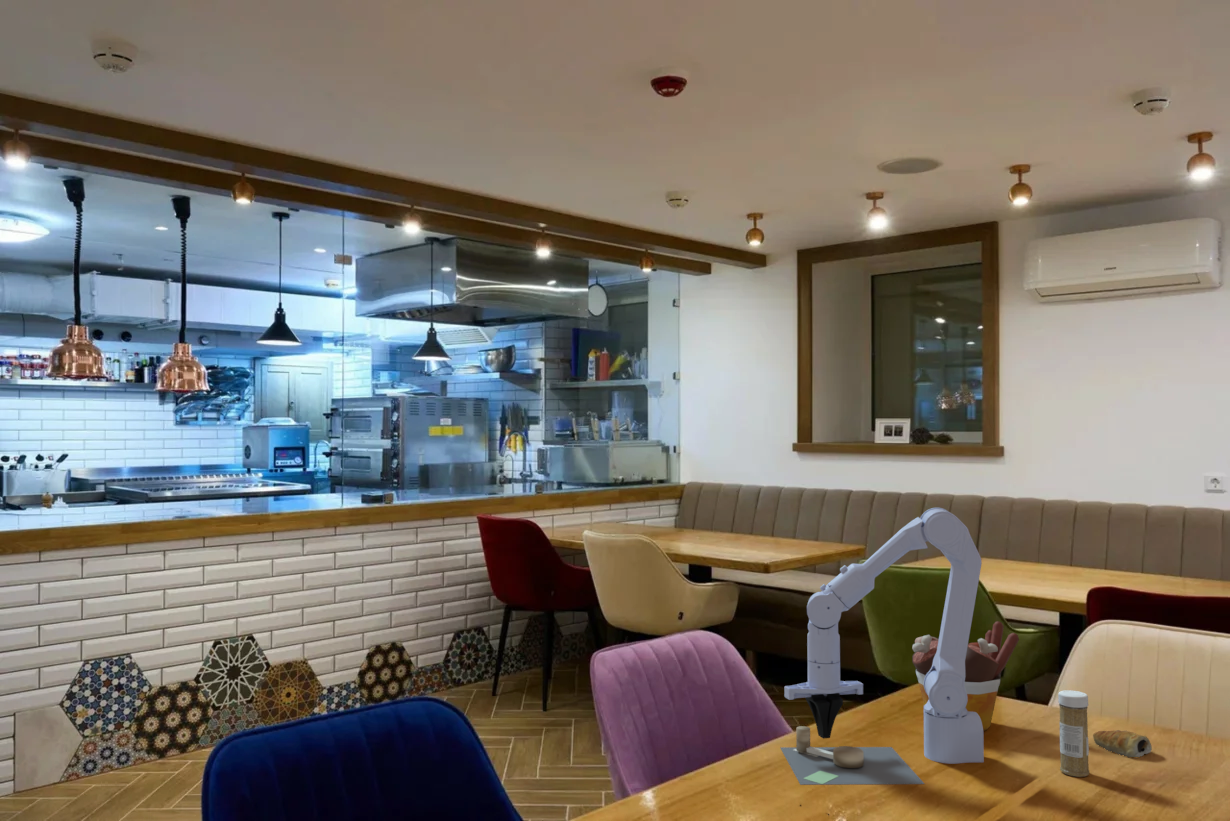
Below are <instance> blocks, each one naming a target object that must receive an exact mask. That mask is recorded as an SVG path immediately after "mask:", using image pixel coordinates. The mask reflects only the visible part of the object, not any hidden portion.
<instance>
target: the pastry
mask: <svg viewBox="0 0 1230 821" xmlns="http://www.w3.org/2000/svg"><path fill="white" fill-rule="evenodd" d="M1092 737H1093V740H1094V743H1095V745H1097V746H1098V745H1099V746H1098V747H1100V746H1101V747H1100V748H1102V747H1103V748H1102V749H1104V748H1105V749H1106V750H1105V751H1107V750H1108V751H1107V752H1111V751H1112V752H1111V753H1113V752H1115V753H1114V754H1116V753H1117V755H1119V754H1120V756H1122V755H1124V756H1123V757H1125V756H1127V757H1126V758H1130V757H1139V758H1141V757H1143V756H1145V755H1144V754H1146V755H1147V754H1150V753H1152V749H1153V748H1152V743H1151V741H1150V739H1149V738H1148V736H1147V735H1143V734H1142V735H1141V734H1137V733H1135V732H1133V731H1129V730H1119V729H1118V730H1106V731H1105V730H1100V731H1096V732H1094V733H1093V734H1092ZM1140 756H1141V757H1140Z"/></svg>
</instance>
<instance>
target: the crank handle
mask: <svg viewBox="0 0 1230 821" xmlns="http://www.w3.org/2000/svg"><path fill="white" fill-rule="evenodd" d="M795 732H796V736H795V737H796V741H795V742H796V747H797V751H799V752H809V753H812V754H816V755H820V756H823V757H827V758H831V759H833V762H834V764H836V765H838V766H840V767H845V768H858V767H862V766H863V765H864V752H863V750H861V749H859V748H856V747H857V746H850V745H842V746H835V747H836V748H834V749H833V752H830V751H826V750H822V749H819V748H815V747H816V746H815V747H814V746H812V745H811V728H810V727H809V726H805V725H803V726H802V725H799V726H797V727H796V730H795Z"/></svg>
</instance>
